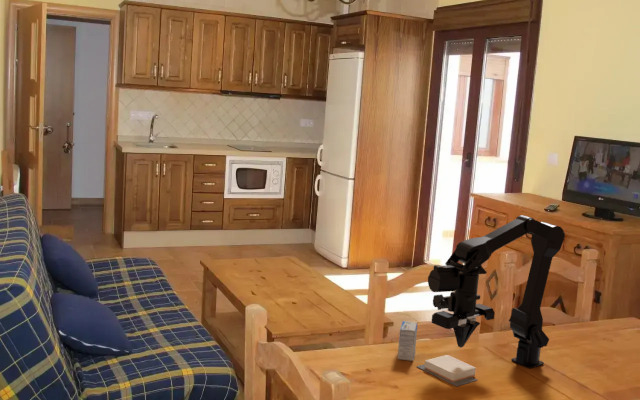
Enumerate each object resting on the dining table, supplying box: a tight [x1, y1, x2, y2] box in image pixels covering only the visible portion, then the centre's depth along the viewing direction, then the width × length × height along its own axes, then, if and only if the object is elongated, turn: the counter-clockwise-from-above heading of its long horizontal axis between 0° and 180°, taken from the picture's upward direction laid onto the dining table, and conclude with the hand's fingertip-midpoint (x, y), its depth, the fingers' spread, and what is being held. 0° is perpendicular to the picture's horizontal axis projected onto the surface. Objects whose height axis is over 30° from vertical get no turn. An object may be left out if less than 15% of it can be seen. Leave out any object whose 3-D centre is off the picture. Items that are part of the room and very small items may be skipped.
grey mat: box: [416, 363, 478, 387], centre depth 180 cm, size 8×14×1 cm, turn 37°
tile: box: [424, 354, 477, 382], centre depth 180 cm, size 2×10×8 cm
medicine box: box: [397, 320, 418, 362], centre depth 190 cm, size 8×4×9 cm, turn 168°
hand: (460, 346), depth 181 cm, fingers closed
